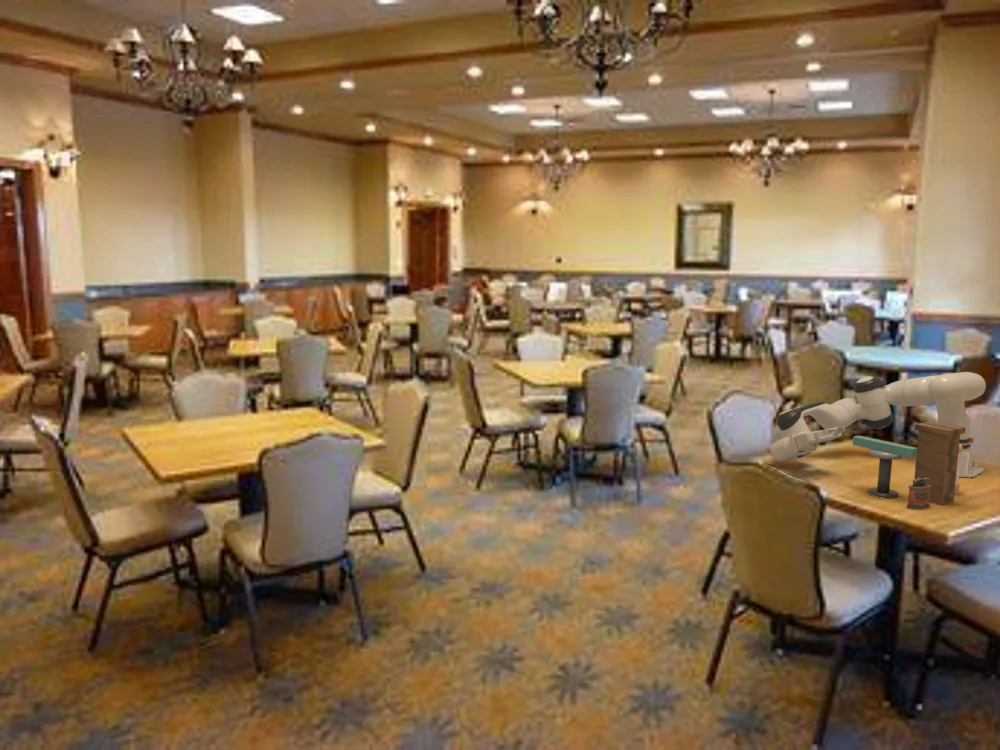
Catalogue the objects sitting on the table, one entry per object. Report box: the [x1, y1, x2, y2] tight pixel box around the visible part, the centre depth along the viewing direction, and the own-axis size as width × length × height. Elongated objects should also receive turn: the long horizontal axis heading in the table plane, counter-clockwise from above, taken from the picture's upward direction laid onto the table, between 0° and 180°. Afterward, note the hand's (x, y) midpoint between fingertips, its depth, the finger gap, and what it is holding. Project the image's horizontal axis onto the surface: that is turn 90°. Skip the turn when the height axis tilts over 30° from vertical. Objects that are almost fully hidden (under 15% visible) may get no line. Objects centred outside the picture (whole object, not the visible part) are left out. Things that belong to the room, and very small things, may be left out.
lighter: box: [906, 478, 931, 510], centre depth 281 cm, size 8×3×10 cm, turn 105°
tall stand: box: [914, 420, 966, 506], centre depth 288 cm, size 10×12×26 cm
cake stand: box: [867, 448, 904, 499], centre depth 295 cm, size 11×11×16 cm
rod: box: [851, 435, 918, 459], centre depth 294 cm, size 4×22×3 cm, turn 34°
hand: (835, 430), depth 309 cm, fingers open, 8 cm apart
